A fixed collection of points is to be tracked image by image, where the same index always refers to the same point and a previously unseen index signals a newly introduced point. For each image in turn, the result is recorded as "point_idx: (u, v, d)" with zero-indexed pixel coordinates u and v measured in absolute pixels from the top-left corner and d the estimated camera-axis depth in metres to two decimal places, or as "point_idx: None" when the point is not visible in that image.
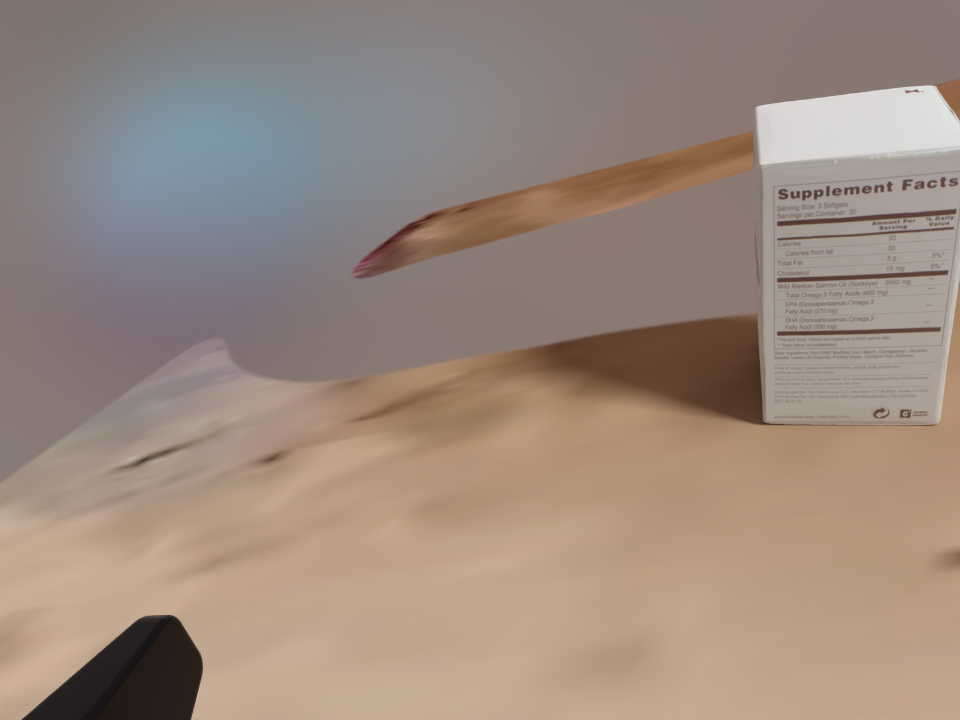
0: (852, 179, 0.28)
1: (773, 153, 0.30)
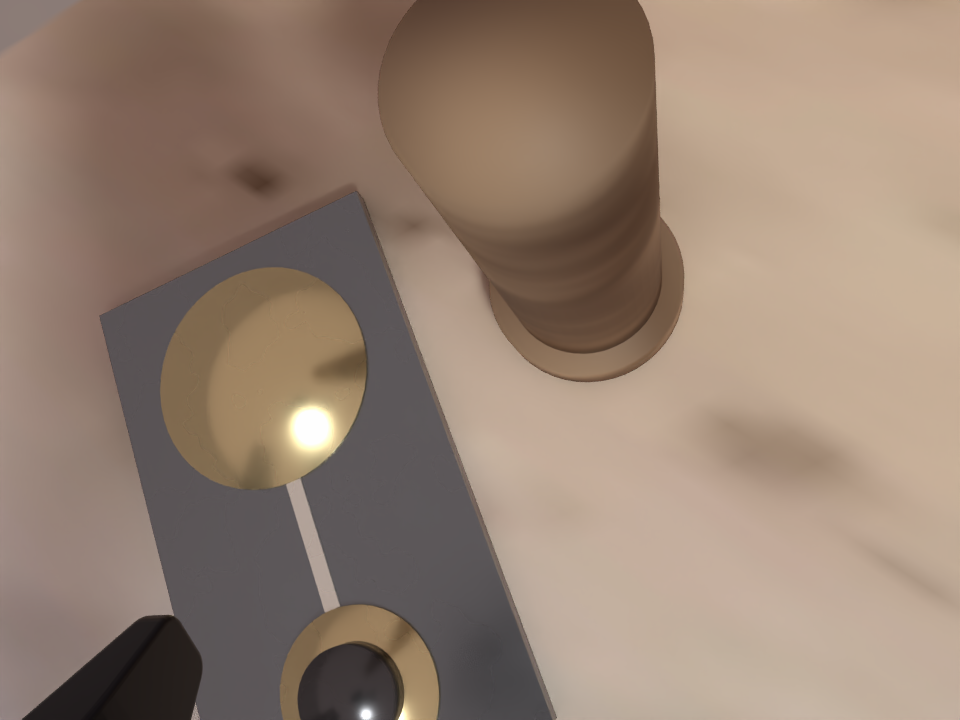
0: None
1: None
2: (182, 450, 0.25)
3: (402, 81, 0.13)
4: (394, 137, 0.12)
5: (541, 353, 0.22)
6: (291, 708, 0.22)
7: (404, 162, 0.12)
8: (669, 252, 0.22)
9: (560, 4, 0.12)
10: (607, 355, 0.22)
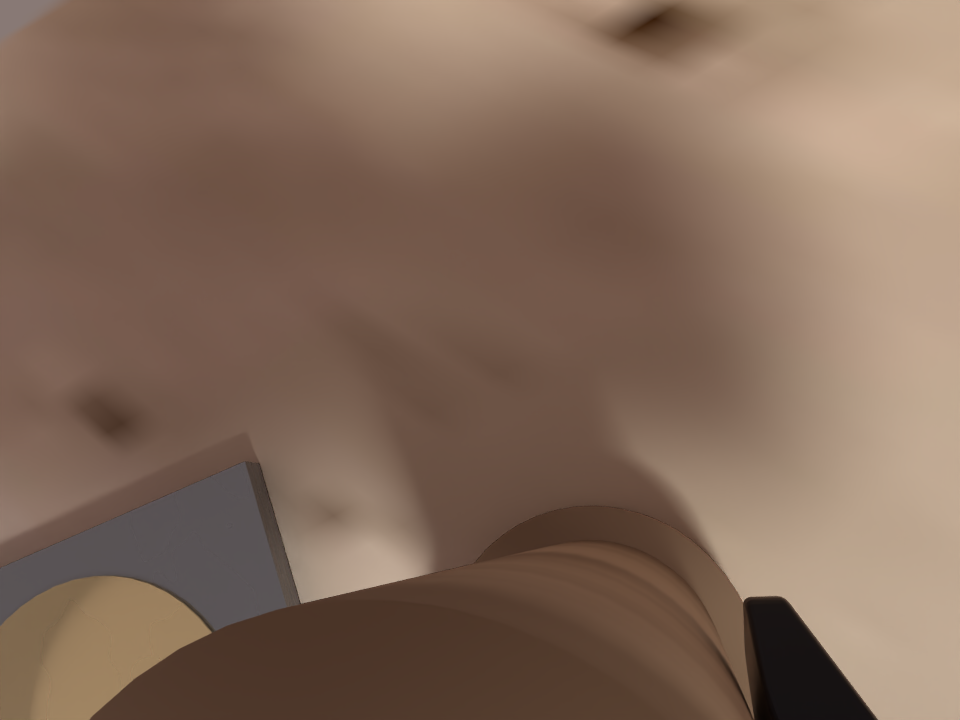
0: None
1: None
2: None
3: None
4: None
5: None
6: None
7: None
8: (739, 638, 0.13)
9: None
10: None
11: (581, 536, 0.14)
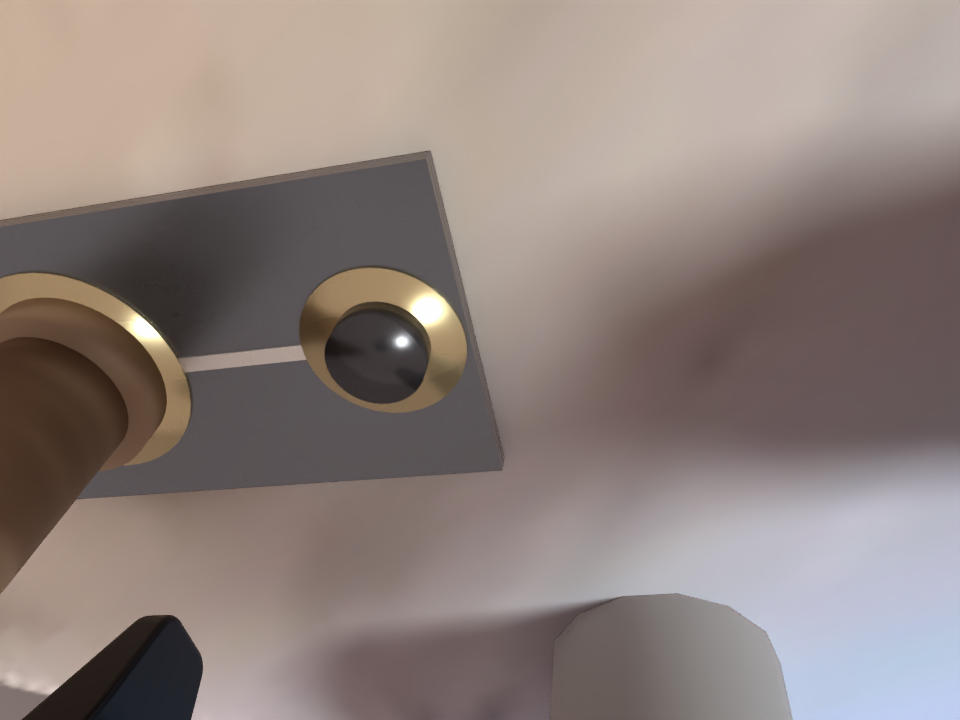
0: None
1: None
2: (158, 454, 0.26)
3: None
4: None
5: (137, 431, 0.23)
6: (392, 403, 0.23)
7: None
8: (0, 331, 0.22)
9: None
10: (117, 379, 0.22)
11: None
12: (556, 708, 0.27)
